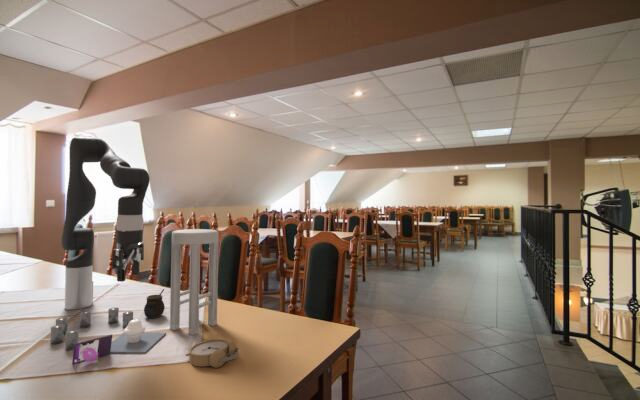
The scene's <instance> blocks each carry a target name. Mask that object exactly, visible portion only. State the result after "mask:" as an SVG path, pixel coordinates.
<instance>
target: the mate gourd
mask: <svg viewBox="0 0 640 400" xmlns="http://www.w3.org/2000/svg"><path fill="white" fill-rule="evenodd" d="M164 291H165V288H163V289H162V290H161V291H160V293H158V294H151V295H147V296H146V303H145V305H144V307H143V308H144V309H143V313H144V316H145V317H146V318H147V319H158V318H160V317H161V316H163V314H164V312H165V307H166V306H165V303H164V301H163V295H162V294H163V293H164Z"/></svg>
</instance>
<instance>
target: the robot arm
mask: <svg viewBox="0 0 640 400" xmlns="http://www.w3.org/2000/svg"><path fill="white" fill-rule="evenodd" d="M69 143H70V144H69V173H68V174H69V177H68V184H67V191H66V198H65V199H66V200H65V201H66V202H65V217H64V223H63V224H64V225H63V227H62V228H63V229H62V233H61V234H62V236H61V247H62V249H63V250H64V251H82V250H83V251H82V252H81V253H80V254H78V255H76V256H74V257H71V258H68V259H67V260H65V271H64V272H65V273H64V274H65V278H64V280H65V283H64V285H65V286H64V310H68V311H70V310H80V309H85V308H89V307H91V306H92V305H93V303H94V281H93V267H94V265H93V262H94V261H93V260H94V258H93V257H94V254H93V253H94V245H95V244H94V242H95V233H94V229H92V228H91V227H82V228H81V227H80V228H76V227H77V225H78V223H80V221H81V220H83V218H85V216H87V215H88V214H89V213H90V212H91V211H92V209H94V207H95V203H96V198H97V196H96V195H97V189H96V187H95V186H94V184H93V183H92V182H91V181H90V179H89V178H88V177H87V175H86V173H85V172H84V169H83V167H84V166H83V165H84V164H85V163H99V165H100V169H101V170H102V171H103V172H104V174H106V176H107V175H108V176H109V177H110V179H111V181H112V185H114V186H115V188H117V189H125V190H132V192H131V194H129V195H125V196H124V195H123V196H121V197H119V198H118V201H117V217H116V218H117V219H116V231H115V232H116V234H115V235H116V236H115V239H116V240H115V242H116V244H117V245H118V244H119V246H120V247H119V248H118V249H117V248H114V249H113V250H112V266H111V268H112V269H114V270H116V272H117V273H116V281H117V282H123V283H124V282H125V281H126V273H127V272H126V268H127V265H128V264H130V262H131V275H133V276H134V275H135V276H136V275H140V269H141V268H140V267H141V266H140V264H141V263H142V261H144V259H145V255H144V254H145V253H144V252H145V246H144V245H145V243H143V241H144V217H143V211H144V209H143V208H144V206H143V205H144V204H143V203H144V201H145V197H146V194H147V190H148V189H149V188H148V187H149V185H150V181H151V180H150V174H149V172H148V171H147V170H146V169H144V168H143V167H142V168H140V167H131V164H129V163H128V162H127V161H126V160H124V159H123V158H121V157H120V156H118V155H117V154H116V153H115V151H114V150H113V149H112V148H111V147H110V146H109V144H108V143H107V142H106V141H105V140H103V139H102V138H98V137H88V136H87V137H83V136H80V137H79V136H78V137H77V136H76V137H73V138H72V139H71V140H70V142H69Z"/></svg>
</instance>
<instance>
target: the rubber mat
mask: <svg viewBox="0 0 640 400" xmlns="http://www.w3.org/2000/svg"><path fill="white" fill-rule="evenodd" d="M166 335H167V332H144V334H143V336H142V337H141V339H140V341H138V342H136V343H129V342H128V341H127V339H126V337H125V336H124V333H121V335H120V334H119V336H117V337H116V338H114V339H112V343H111V350H110V354H147V352H148V351H150V349H152V348H153V347H154V346H155V345H157V343H158V342H159V341H160V340H161V339H163V337H165V336H166Z"/></svg>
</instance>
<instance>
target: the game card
mask: <svg viewBox="0 0 640 400" xmlns="http://www.w3.org/2000/svg"><path fill="white" fill-rule="evenodd" d="M95 341H98V345H97V351H96V348H94V347H86V348H83V349H82V350H81V351H80V348H81V346H83V347H84V346H87V345H88V344H89V345H91V344H93V343H95ZM112 341H113V334H108V335H104V336H99V337H95V338H91V339H88V340H83V341H78V343H75V344H74V349H73V350H72V351H73V352H72V353H73V354H72V363H71V364H72V365H75V364H80V363H83V362H88V363H91V362H96V363H97V364H100V360H99V359H98V358H100V357H103V356H107V355H110V354H111V353H110V350H111V343H112ZM81 354H82V360H81V358H79V357H80V355H81Z"/></svg>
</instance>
